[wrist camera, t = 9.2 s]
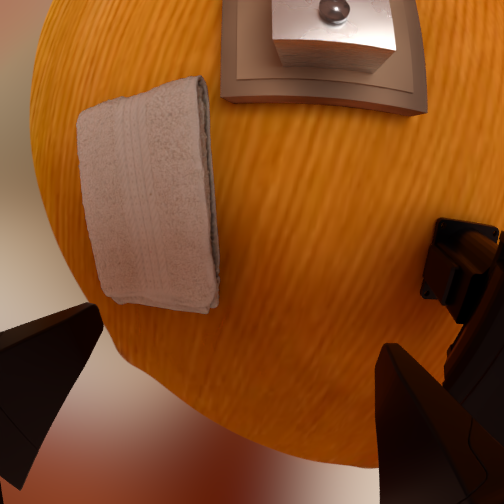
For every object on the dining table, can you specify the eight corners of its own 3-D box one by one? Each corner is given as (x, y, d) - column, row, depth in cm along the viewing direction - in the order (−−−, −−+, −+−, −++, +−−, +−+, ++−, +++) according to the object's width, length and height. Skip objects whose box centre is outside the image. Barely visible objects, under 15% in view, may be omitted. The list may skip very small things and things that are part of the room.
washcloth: (118, 292, 26) (101, 308, 23) (88, 111, 19) (64, 111, 16) (230, 303, 23) (220, 324, 21) (211, 77, 17) (194, 68, 14)
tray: (395, -21, 10) (405, -40, 7) (410, 116, 15) (428, 112, 12) (236, -29, 12) (224, -50, 9) (233, 103, 17) (219, 96, 14)
